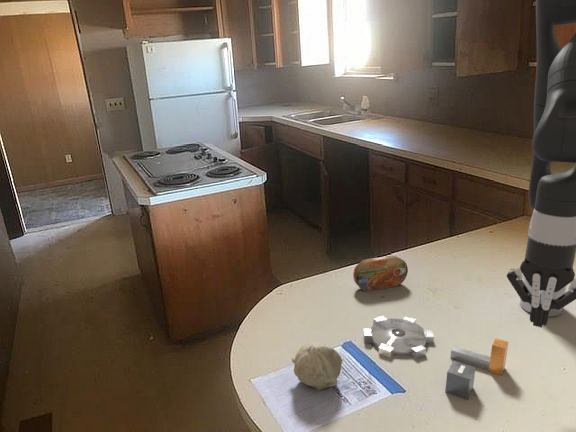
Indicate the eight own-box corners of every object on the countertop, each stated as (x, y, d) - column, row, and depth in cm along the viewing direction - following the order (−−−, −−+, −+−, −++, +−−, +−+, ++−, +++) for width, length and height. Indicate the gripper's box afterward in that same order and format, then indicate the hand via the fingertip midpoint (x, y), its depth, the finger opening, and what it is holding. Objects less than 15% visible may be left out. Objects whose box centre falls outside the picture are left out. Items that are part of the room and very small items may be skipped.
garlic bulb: (339, 393, 95) (358, 355, 91) (309, 408, 89) (328, 368, 85) (308, 360, 100) (324, 323, 96) (278, 372, 95) (294, 333, 91)
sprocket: (381, 317, 117) (381, 309, 116) (440, 334, 109) (441, 326, 109) (353, 347, 105) (353, 338, 105) (417, 368, 98) (418, 359, 97)
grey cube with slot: (451, 382, 94) (453, 360, 92) (472, 390, 91) (475, 367, 90) (444, 394, 90) (447, 371, 89) (467, 402, 88) (469, 378, 87)
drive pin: (453, 352, 102) (456, 327, 100) (504, 367, 97) (508, 341, 95) (449, 358, 100) (452, 333, 98) (501, 375, 94) (505, 348, 93)
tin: (356, 293, 129) (356, 264, 126) (351, 288, 132) (352, 259, 129) (407, 285, 132) (409, 256, 130) (401, 280, 135) (403, 252, 133)
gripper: (599, 236, 83) (581, 326, 89) (515, 223, 90) (503, 306, 96) (596, 251, 77) (577, 345, 83) (507, 235, 84) (494, 323, 90)
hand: (537, 324), depth 89 cm, fingers closed
